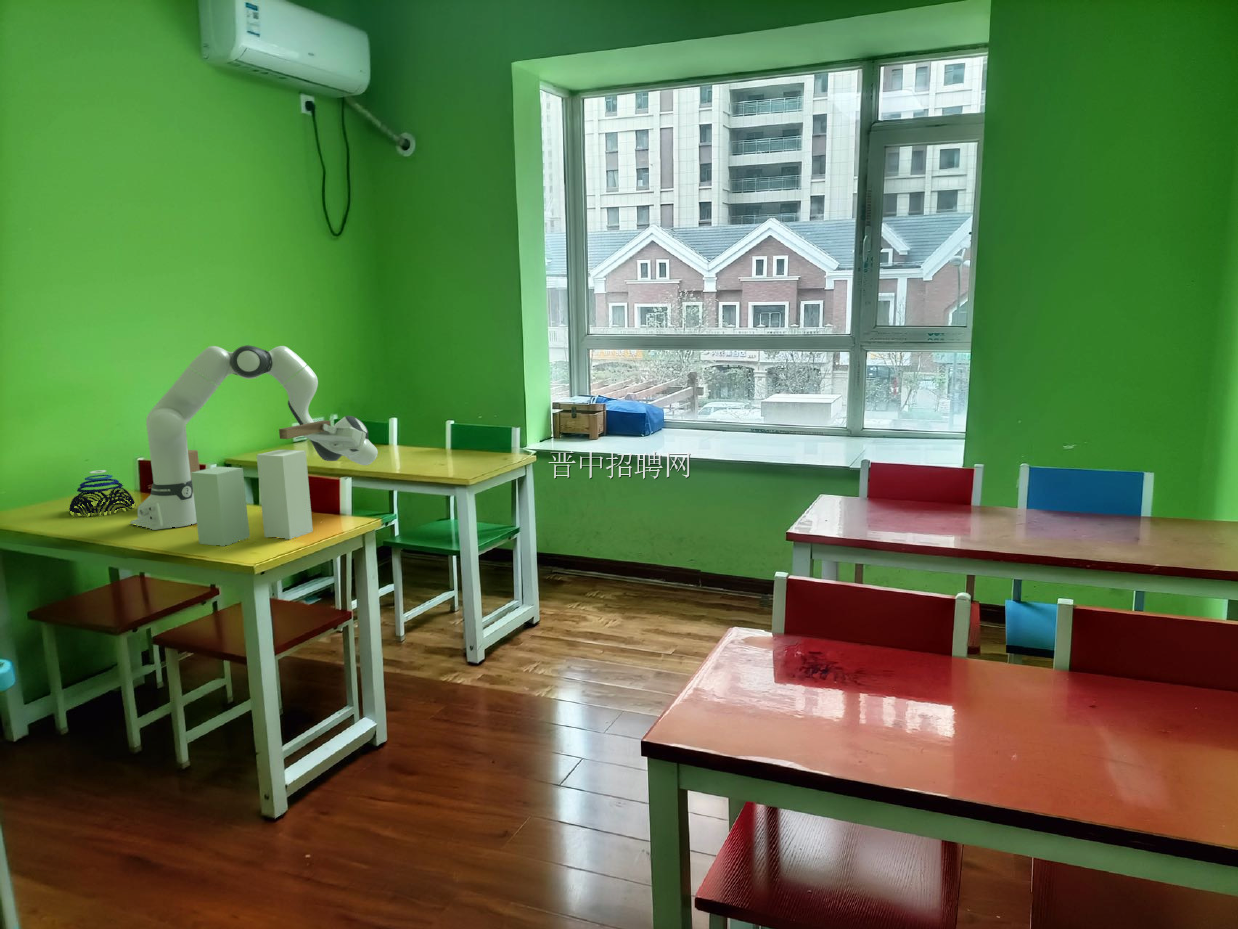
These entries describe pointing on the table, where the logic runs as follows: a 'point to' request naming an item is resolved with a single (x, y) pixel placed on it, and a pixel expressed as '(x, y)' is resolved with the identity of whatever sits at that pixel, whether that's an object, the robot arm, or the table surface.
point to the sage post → (220, 505)
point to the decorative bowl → (85, 500)
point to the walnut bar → (302, 429)
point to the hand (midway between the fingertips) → (317, 425)
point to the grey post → (284, 493)
